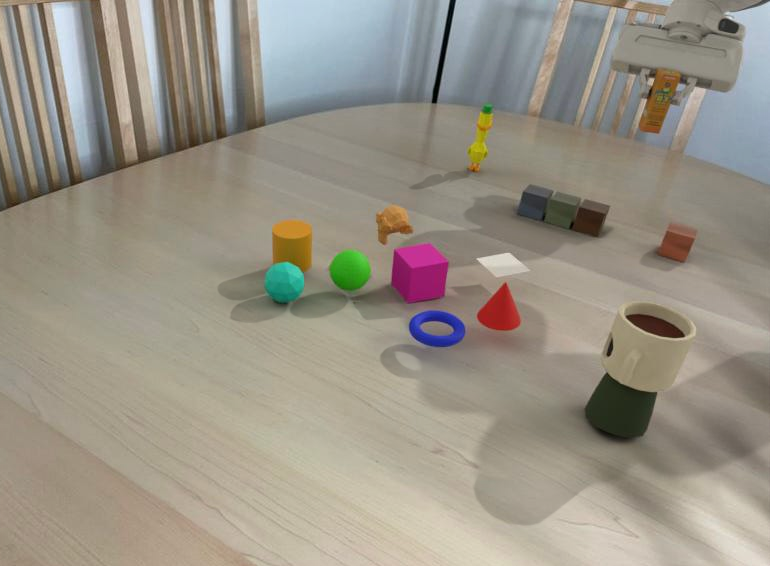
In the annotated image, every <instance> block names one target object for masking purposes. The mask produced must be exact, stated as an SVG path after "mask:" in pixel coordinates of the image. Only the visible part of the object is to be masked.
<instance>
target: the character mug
mask: <svg viewBox="0 0 770 566" xmlns="http://www.w3.org/2000/svg"><path fill="white" fill-rule="evenodd" d="M608 333H609V334H608V336H607V339H606V341H605V344H604V346H603V349H602V352H601V355H600V363H601V365H602V368H604V370H605V373H604V375H603V376H602V378H601V379H600V381H599V382H598V384H597V385H596V387H595V389H594V390H593V392H592V394H591V395H590V398H589V400H588V401H587V403H586V405H585V407H584V415H585V418H586V419H587V420H588V422H589V423H590V424H591V425H592V426H593V427H595V428H598V429H600V430H601V431H603V432H606V433H609V434H611V435H612V434H613V435H614V436H618V437H623V438H629V439H635V438H636V439H637V438H640V437H644V435H645V434H646V432H647V431H648V428H649V426H650V422H651V419H652V416H653V413H654V409H655V404H656V401H657V398H658V397H657V396H658V393H659V392H665V391H666V390H668V389H670V388H671V387H673V385H674V383H675V381H676V379H677V377H678V375H679V373H680V370H681V368H682V367H683V364H684V362H685V360H686V357H687V355H688V353H689V351H690V349H691V347H692V345H693V342H694V340H695V337H696V335H697V327H696V325H695V324H694V322H693V321H692V320H691V319H690V318H689V317H688V316H687V315H685V314H684V313H682V312H680V311H678V310H676V309H675V308H673V307H670V306H668V305H664V304H661V303H657V302H652V301H646V300H645V301H644V300H632V301H627V302H624V303H623V304H621V305H620V306H619V308H618V311H617V313H616V315H615V317H614V320H613V323H612V326H611V328H610V331H609V332H608Z"/></svg>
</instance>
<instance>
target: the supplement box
mask: <svg viewBox="0 0 770 566" xmlns="http://www.w3.org/2000/svg"><path fill="white" fill-rule="evenodd" d="M679 80H680V74H679V72H678V71H675V70H667V69H661V68H659V69H658V70H657V73H656V76H655V79H653V82H652V85H651V86H652V87H651V91H650V94H649V96H648V99H646V102H645V105H644V107H643V111H642V113H641V116H640V119H639V120H638V124H637V125H638V128H639V130H640V132H643V133H649V134H657V135H659V134H660V133H661V129H662V127H663V125H664V123H665V119H666V117H667V114H668V112H669V110H670V106H671V101H672V98H673V96H674V93H675V91H677V88H678V85H679V84H678V83H679Z"/></svg>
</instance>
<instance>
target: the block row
mask: <svg viewBox="0 0 770 566" xmlns="http://www.w3.org/2000/svg"><path fill="white" fill-rule="evenodd" d="M520 197H521V198H520V201H519V204H518V208H517V212H516V214H517V215H520V216H523V217H527V218H531V219H533V220H537V221H542V220H543V219H544V220H543V223H546V224H550V225H554V226H558V227H561V228H563V229H567V230H568V229H570V228H571V226H572V228H571V230H572V231H574V232H579V233H581V234H585V235H588V236H592V237H596V238H598V236H599V235H600V234H601V231H602V230H603V228H604V226H605V222H606V219H607V216H608V214H609V211H610V208H611V205H609V204H605V203H602V202H599V201H594V200H591V199H587V198H584V200H583V201H582V199H583V198H582V197H581V196H576V195H572V194H569V193H565V192H562V191H558V190H556V191H555V193H554V190H553V189H550V188H546V187H542V186H539V185H535V184H533V183H530V184H528V185H527V186H526V187H525V189H524V190H523V191H522V193H521V196H520ZM581 201H582V202H581ZM664 233H665V234H664V236H663V238H662V241H661V244H660V246H659V249H658V252H657V255H658V256H661V257H665V258H668V259H672V260H675V261H679V262H682V263H686V262H687V259H688V256H689V254H690V252H691V250H692V247H693V244H694V242H695V241H696V237H697V234H698V228H695V227H691V226H687V225H684V224H679V223H676V222H672V221H670V222H669V223H668V226H667V229H666V231H665V232H664Z"/></svg>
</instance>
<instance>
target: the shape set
mask: <svg viewBox="0 0 770 566" xmlns="http://www.w3.org/2000/svg"><path fill="white" fill-rule="evenodd" d="M375 216H376V218H375V223H376V224H377V230H376V231H377V240H378V242H379V243H380V244H381V245H384V246H386V245H387V244H388V236H389V235H391V234H397V233H400V234H401V235H410V234H411V235H412V234H413V230H414V226H413V224H409V220H410V218H409V213H408V212H407V211H406V209H405V208H403V207H401V206H398V205H389V206H386V207H385V209H384V210H383V211H382V212H380V211H377V212H376V213H375ZM271 235H272V237H271V239H272V244H271V245H272V266H271V267H269V268H268V269H267V272H266V273H265V276H264V285H263V286H264V289H265V291H266V293H267V295H268V296H269V298H270V299H271V300H273V301H276V302H278V303H280V302H281V303H280V304H284V302H285V303H290V302H294V301H295V300H297V299H299V298H300V297H301V295H302V293H303V291H304V289H305V276H304V273H305V272H307V271H309V270H310V269H311V267H312V262H313V227H312V226H311V225H310V224H309V223H308V222H305V221H302V220H298V219H288V220H281V221H279V222H277V223H275V224H274V225H272V228H271ZM476 260H477V261H478V262H479V263H480V264H481V265H482V266H483V267H484V268H486V269H487V270H488V272H490V273H491V274H492V275H493V276H494V277H495V278H500V277H505V276H511V275H516V274H521V273H526V272H530V271H531V269H529V268H528V267H527V266H526V265H524V264H523V263H522V262H521V261H520V260H519V259H517V258H516V257H515V256H514V255H513V254H511V253H510V252H504V253H500V254H493V255H488V256H483V257H477V258H476ZM449 264H450V261H449V260H448V259H447V258H446V257H445V256H444V255H443V254H442V253H441V252H440V251H439V250H438V249H437V248H436V247H435V246H434V245H433V244H432V243H431V242H429V243H428V242H427V243H422V244H416V245H409V246H404V247H398V248H394V249H393V258H392V266H391V279H390V284H391V285H392V286H393V287H394V289H395V290H396V291H397V293H399V295H400V296H401V297H402V298H403V299H404V301H406V303H407V304H411V303H416V302H422V301H428V300H432V299H437V298H442V297H445V294H446V293H445V292H446V286H447V279H448V272H449V271H448V270H449ZM329 265H330V266H329V276H330V279H331V281H332V282H333V284H334V285H335V286H336V287H337V288H339V289H340V290H343V291H346V292H353V291H358V290H360V289H361V288H363V287H365V285H367V282H368V281H369V279H370V276H371V264H370V261H369V260H368V258H367V256H365V255H364V254H363V253H362V252H360V251H358V250H355V249H346V250H342V251H341V252H339V253H337V254H336V255H335V256H333V259H332V261H331V263H330V264H329ZM476 319H477V321H478V322H479V323H480V324H481V325H482V326H484V327H486V328H487V329H490V330H494V331H498V332H500V331H501V332H508V331H513V330H515V329H517V328H519V327H520V326H521V323H522V319H521V317H520V313H519V311H518V309H517V305H516V303H515V301H514V299H513V296H512V293H511V291H510V288H509V285H508V283H507V281H505V282H504V283H503V284H502V285H501V286H500V288H499V289H497V290H496V292H495V293H494V294H493V295H492V296H491V297H490V298H489V299H488V301H487V302H486V303H485V304H484V305H483V306H482V307H481V308H480V309H479V310H478V311H477V313H476ZM430 322H437V323H443V324H446V325H447V326H450V327H451V328H452V329H453V332H451V333H450V334H447V335H434V334H432V333H431V334H430V333H428V332H426V331H424V330H423V329H422V328H421V326H422V325H424V324H426V323H430ZM408 331H409V333H410V336H411V337H412V338H413V339H415V340H416V341H417V342H418V343H420V344H422V345H425V346H428V347H433V348H448V347H453V346H455V345H457V344H459V343H460V342H461V341H463V339H464V338H465V336H466V332H467V331H466V326H465V323H464V322H463V320H461V319H460V318H459V317H458V316H456V315H454V314H452V313H450V312H447V311H443V310H435V309H434V310H433V309H432V310H424V311H421V312H419V313H417V314H415V315H414V316H412V318H411V319H410V321H409V323H408Z"/></svg>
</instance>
